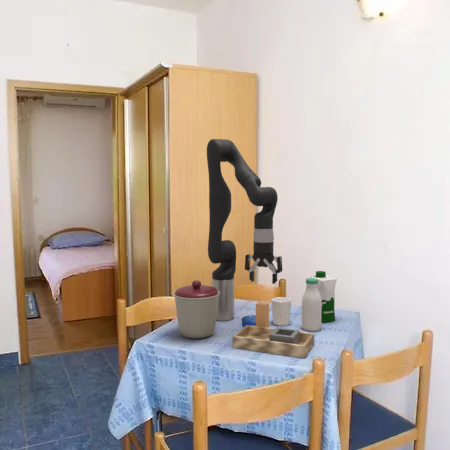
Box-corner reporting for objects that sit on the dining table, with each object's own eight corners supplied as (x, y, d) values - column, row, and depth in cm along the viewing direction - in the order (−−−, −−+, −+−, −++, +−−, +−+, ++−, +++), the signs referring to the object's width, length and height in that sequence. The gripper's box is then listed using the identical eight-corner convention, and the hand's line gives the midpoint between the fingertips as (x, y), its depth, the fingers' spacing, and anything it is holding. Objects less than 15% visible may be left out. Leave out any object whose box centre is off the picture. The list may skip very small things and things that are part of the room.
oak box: (232, 347, 169) (232, 336, 168) (246, 335, 182) (246, 325, 181) (304, 358, 159) (305, 346, 158) (314, 344, 171) (314, 333, 171)
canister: (183, 325, 194) (182, 274, 192) (226, 328, 190) (225, 276, 187) (166, 340, 177) (165, 284, 175) (213, 344, 172) (212, 287, 170)
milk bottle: (321, 332, 184) (322, 281, 182) (301, 331, 186) (301, 280, 184) (321, 326, 192) (322, 277, 190) (302, 324, 193) (302, 276, 191)
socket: (269, 348, 166) (269, 334, 166) (276, 340, 174) (276, 327, 174) (293, 351, 163) (293, 337, 162) (299, 343, 171) (299, 330, 170)
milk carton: (325, 315, 206) (325, 270, 204) (338, 321, 198) (339, 273, 196) (308, 318, 202) (308, 271, 200) (321, 324, 194) (321, 276, 192)
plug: (255, 334, 182) (255, 304, 181) (259, 331, 186) (259, 301, 185) (265, 335, 181) (265, 305, 179) (269, 332, 184) (269, 302, 183)
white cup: (278, 327, 191) (278, 303, 190) (267, 322, 198) (267, 298, 197) (294, 324, 194) (294, 300, 193) (283, 319, 201) (283, 296, 200)
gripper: (242, 240, 179) (242, 282, 181) (278, 242, 173) (278, 286, 175) (249, 237, 186) (249, 278, 188) (284, 239, 180) (284, 281, 182)
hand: (263, 282), depth 181 cm, fingers open, 8 cm apart
